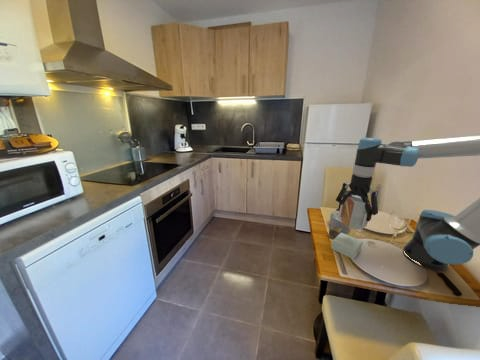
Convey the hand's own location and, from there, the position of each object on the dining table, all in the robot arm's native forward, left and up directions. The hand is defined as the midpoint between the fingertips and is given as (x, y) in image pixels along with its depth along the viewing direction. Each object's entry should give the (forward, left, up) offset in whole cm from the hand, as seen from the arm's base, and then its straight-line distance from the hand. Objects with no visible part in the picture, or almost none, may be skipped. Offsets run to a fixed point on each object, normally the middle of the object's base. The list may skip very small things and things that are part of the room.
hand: (351, 221), depth 91 cm
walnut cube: (+9, -5, -15) cm, 18 cm away
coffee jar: (+16, -28, -15) cm, 36 cm away
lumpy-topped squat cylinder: (+13, -16, -15) cm, 26 cm away
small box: (0, 0, -2) cm, 2 cm away
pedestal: (0, 0, -15) cm, 15 cm away
